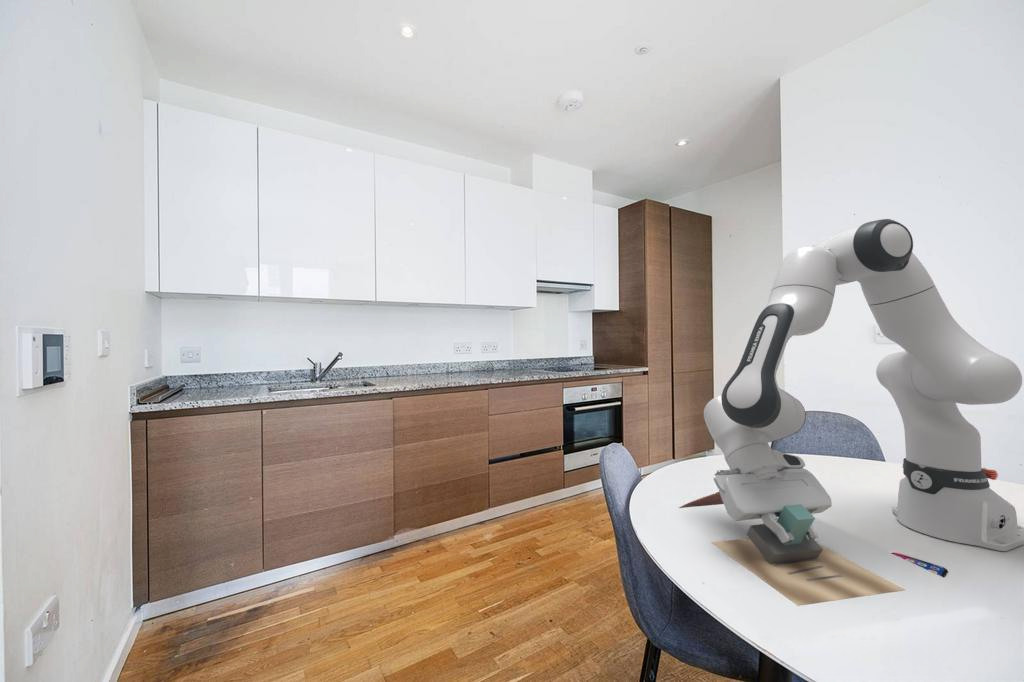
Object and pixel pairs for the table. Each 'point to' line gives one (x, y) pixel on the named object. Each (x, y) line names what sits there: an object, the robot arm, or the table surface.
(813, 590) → the board
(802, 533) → the sanding block
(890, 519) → the table surface
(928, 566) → the blue red thin stick
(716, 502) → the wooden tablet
